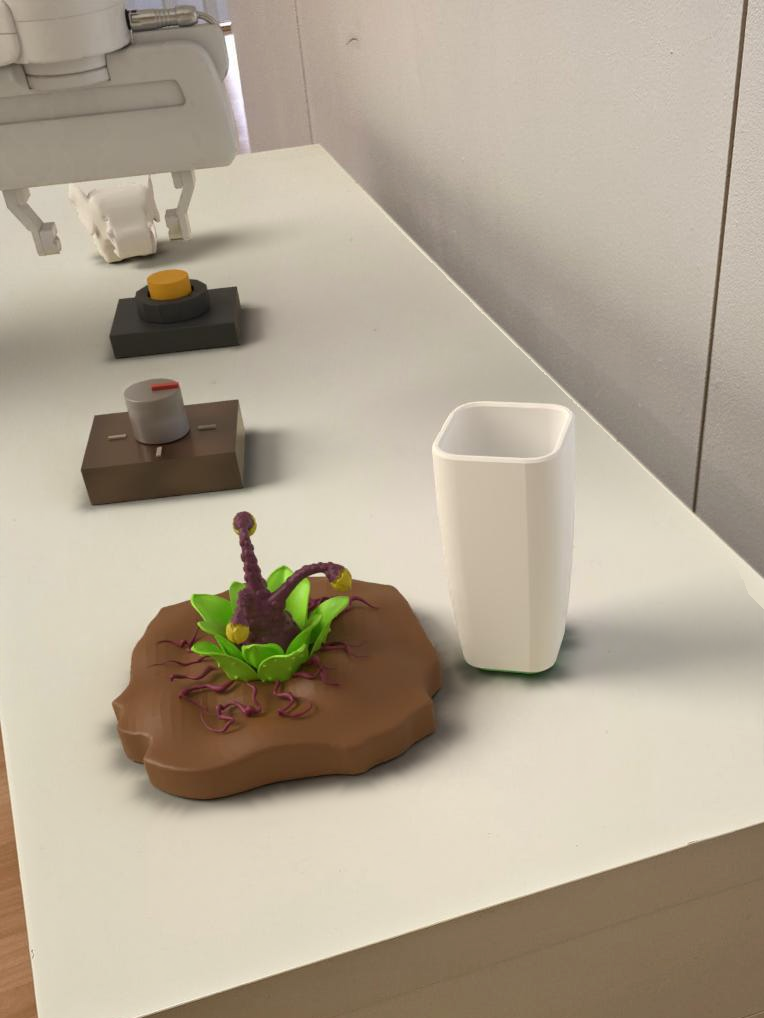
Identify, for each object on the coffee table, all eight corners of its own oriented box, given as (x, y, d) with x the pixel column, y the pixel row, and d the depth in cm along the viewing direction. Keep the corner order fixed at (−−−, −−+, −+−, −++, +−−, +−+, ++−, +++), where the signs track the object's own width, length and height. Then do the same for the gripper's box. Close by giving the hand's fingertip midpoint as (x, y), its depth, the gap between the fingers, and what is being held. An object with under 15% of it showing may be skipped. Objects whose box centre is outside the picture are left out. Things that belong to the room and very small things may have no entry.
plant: (417, 586, 84) (400, 431, 77) (463, 761, 70) (447, 593, 63) (127, 628, 83) (79, 474, 75) (114, 816, 69) (54, 651, 61)
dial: (132, 447, 96) (119, 400, 94) (137, 423, 99) (124, 377, 97) (188, 441, 96) (177, 394, 94) (191, 417, 100) (180, 371, 97)
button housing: (115, 358, 118) (103, 316, 115) (124, 320, 125) (113, 280, 122) (239, 345, 118) (230, 302, 116) (241, 308, 125) (233, 267, 123)
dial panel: (91, 505, 96) (79, 467, 94) (104, 449, 103) (93, 413, 101) (243, 487, 97) (235, 450, 94) (245, 433, 104) (238, 397, 102)
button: (149, 304, 118) (144, 285, 116) (152, 290, 120) (148, 271, 119) (190, 300, 118) (186, 281, 117) (193, 285, 121) (189, 267, 119)
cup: (581, 624, 80) (579, 403, 70) (561, 690, 75) (556, 462, 64) (473, 616, 81) (456, 399, 71) (446, 680, 76) (424, 456, 66)
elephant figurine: (101, 281, 134) (78, 193, 128) (79, 251, 142) (56, 167, 136) (185, 263, 137) (166, 176, 130) (159, 235, 145) (139, 151, 138)
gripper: (219, -7, 81) (259, 216, 91) (-90, 24, 81) (-17, 247, 90) (216, 10, 77) (258, 243, 86) (-111, 44, 76) (-32, 276, 86)
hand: (116, 245), depth 88 cm, fingers open, 8 cm apart
